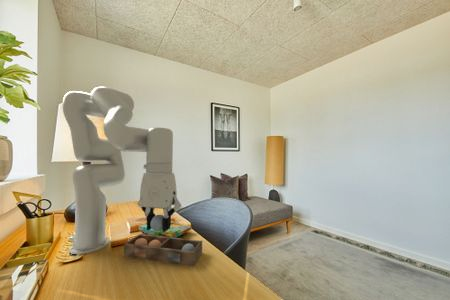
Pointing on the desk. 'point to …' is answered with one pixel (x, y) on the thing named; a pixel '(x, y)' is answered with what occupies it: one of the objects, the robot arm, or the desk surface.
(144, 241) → the tan rounded piece
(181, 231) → the puzzle game
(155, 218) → the slate ball
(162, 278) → the desk surface
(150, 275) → the desk surface
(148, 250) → the divided wooden box
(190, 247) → the blue-grey ball
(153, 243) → the terracotta ball
